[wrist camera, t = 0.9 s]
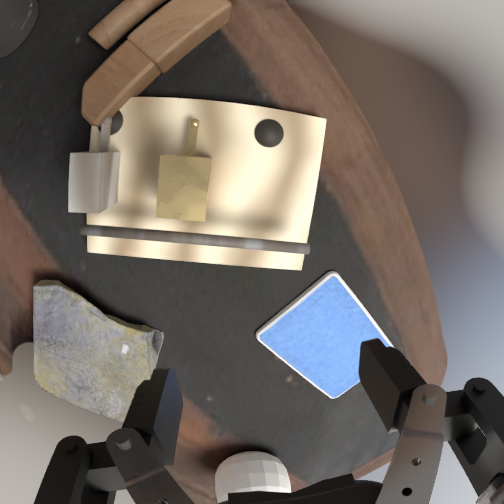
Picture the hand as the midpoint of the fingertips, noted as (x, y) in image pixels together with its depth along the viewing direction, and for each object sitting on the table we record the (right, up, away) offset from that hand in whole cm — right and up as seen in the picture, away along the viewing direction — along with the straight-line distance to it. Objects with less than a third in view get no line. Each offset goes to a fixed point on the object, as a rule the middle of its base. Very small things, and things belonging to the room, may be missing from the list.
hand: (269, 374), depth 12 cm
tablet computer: (+10, -7, +27) cm, 30 cm away
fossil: (-22, -8, +23) cm, 33 cm away
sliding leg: (-6, +13, +15) cm, 21 cm away
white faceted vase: (-1, -34, +34) cm, 48 cm away
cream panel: (-6, +12, +17) cm, 22 cm away
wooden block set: (-14, +29, +11) cm, 34 cm away
